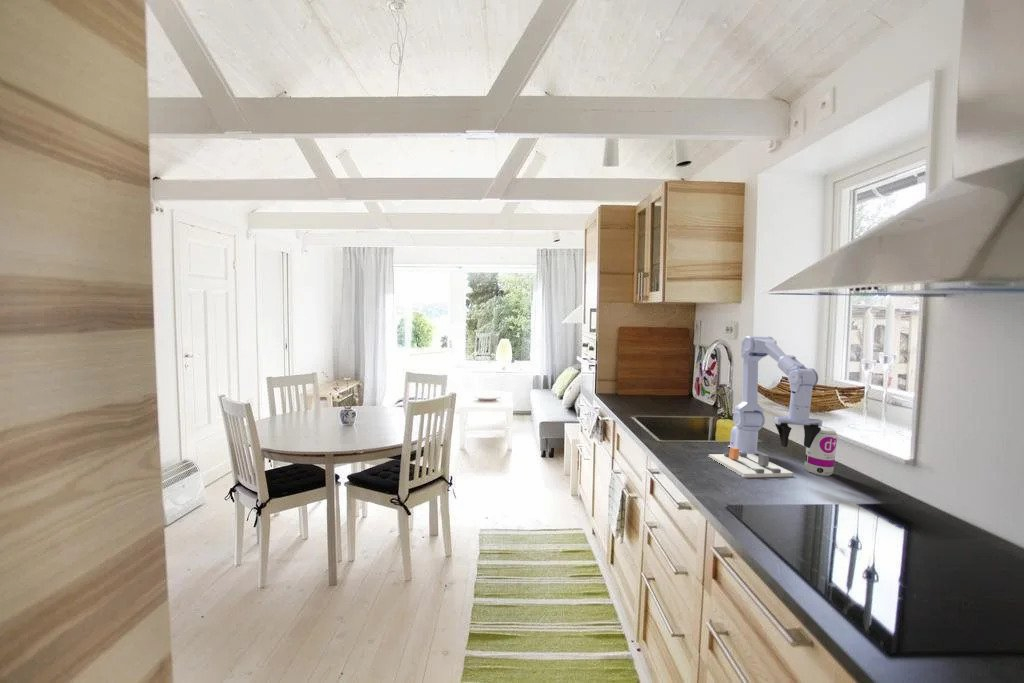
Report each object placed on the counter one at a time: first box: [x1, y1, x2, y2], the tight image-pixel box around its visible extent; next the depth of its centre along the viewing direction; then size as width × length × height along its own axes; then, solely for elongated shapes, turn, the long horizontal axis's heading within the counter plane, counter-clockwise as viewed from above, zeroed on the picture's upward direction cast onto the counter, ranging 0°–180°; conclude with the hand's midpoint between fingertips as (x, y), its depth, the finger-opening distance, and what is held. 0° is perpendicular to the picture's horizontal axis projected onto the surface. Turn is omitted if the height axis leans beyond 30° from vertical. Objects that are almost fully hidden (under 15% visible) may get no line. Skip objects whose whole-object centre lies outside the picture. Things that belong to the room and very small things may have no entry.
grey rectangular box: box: [758, 452, 770, 466], centre depth 157 cm, size 2×2×4 cm
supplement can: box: [804, 425, 838, 477], centre depth 158 cm, size 8×8×15 cm
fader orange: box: [728, 447, 740, 459], centre depth 163 cm, size 2×2×4 cm
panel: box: [708, 452, 794, 478], centre depth 160 cm, size 19×18×2 cm
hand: (795, 446), depth 152 cm, fingers open, 7 cm apart
